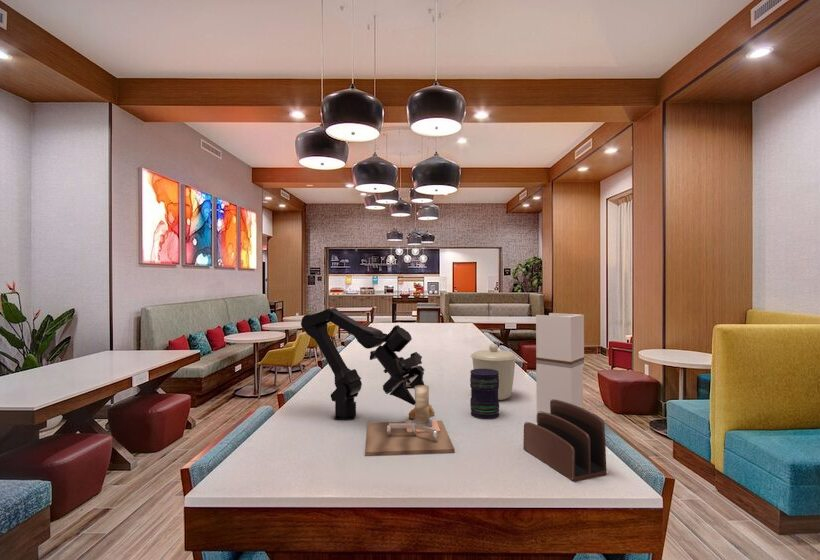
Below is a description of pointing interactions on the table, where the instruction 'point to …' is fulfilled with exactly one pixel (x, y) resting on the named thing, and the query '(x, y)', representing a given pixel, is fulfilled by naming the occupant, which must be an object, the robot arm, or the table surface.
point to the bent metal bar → (414, 427)
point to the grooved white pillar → (559, 359)
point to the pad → (434, 425)
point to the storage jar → (484, 393)
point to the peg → (422, 406)
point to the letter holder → (568, 441)
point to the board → (405, 441)
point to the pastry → (412, 412)
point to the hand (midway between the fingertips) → (421, 400)
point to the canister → (497, 367)
